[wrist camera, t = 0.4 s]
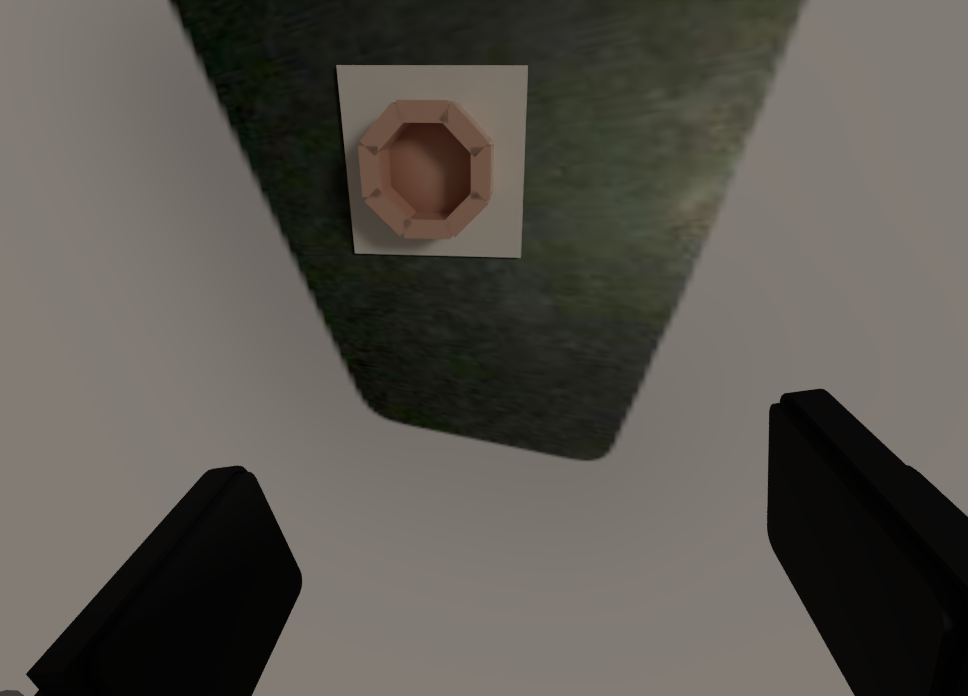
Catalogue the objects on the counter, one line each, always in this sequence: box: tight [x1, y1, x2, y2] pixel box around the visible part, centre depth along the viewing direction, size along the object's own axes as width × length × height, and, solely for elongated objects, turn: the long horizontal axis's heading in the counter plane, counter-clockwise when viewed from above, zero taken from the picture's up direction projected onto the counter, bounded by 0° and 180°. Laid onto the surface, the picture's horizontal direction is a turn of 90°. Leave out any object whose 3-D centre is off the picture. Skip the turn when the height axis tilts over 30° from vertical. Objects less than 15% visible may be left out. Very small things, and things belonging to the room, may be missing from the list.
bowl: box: [358, 100, 494, 239], centre depth 33 cm, size 8×8×4 cm
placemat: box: [336, 65, 528, 258], centre depth 35 cm, size 12×12×1 cm
